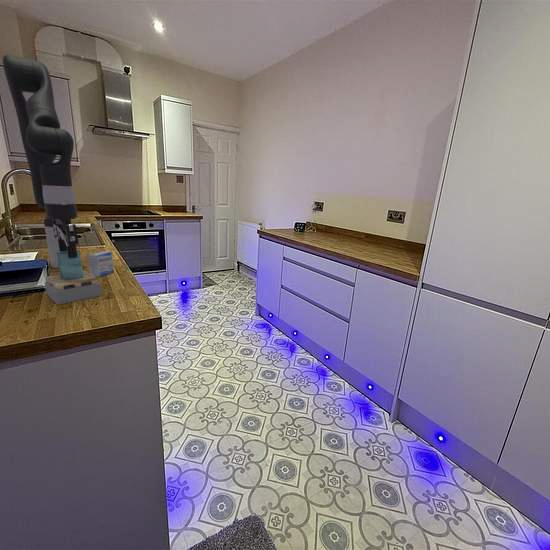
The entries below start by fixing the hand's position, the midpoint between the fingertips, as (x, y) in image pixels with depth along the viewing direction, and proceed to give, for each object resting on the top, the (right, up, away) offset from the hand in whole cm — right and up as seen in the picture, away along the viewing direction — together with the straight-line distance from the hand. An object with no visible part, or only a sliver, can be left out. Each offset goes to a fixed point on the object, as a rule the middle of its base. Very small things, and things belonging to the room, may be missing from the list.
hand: (68, 255), depth 89 cm
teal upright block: (0, -7, +2) cm, 7 cm away
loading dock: (-1, -13, +4) cm, 13 cm away
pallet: (0, -9, +2) cm, 9 cm away
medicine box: (-5, -6, +26) cm, 28 cm away
